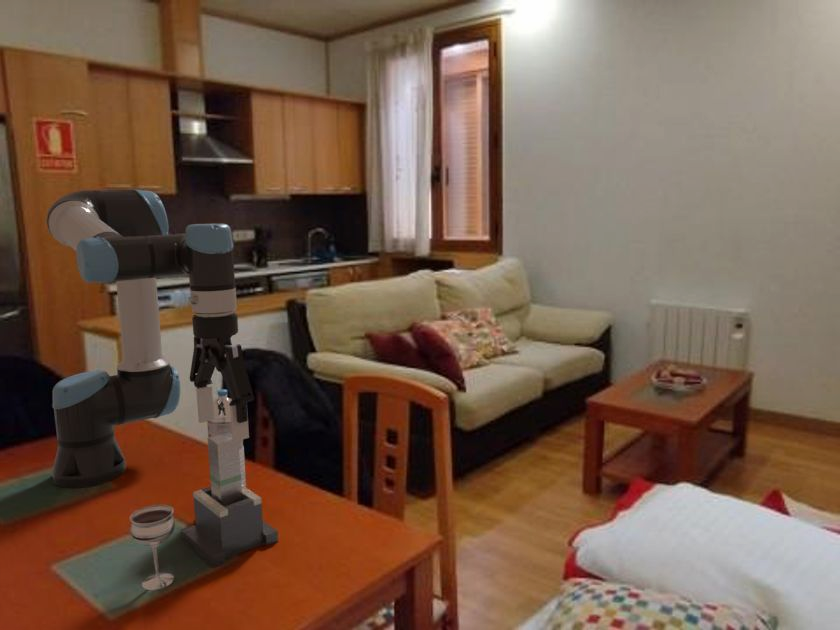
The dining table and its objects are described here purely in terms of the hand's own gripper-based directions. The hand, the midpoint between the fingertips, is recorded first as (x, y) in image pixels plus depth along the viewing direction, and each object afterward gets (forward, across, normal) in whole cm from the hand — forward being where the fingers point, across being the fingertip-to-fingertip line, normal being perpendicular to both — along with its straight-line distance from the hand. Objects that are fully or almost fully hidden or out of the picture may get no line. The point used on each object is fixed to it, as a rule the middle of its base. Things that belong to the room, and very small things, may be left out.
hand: (223, 429), depth 116 cm
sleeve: (+22, 0, 0) cm, 22 cm away
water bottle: (+22, -12, +6) cm, 26 cm away
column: (+22, 0, 0) cm, 22 cm away
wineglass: (+22, +4, -15) cm, 27 cm away
